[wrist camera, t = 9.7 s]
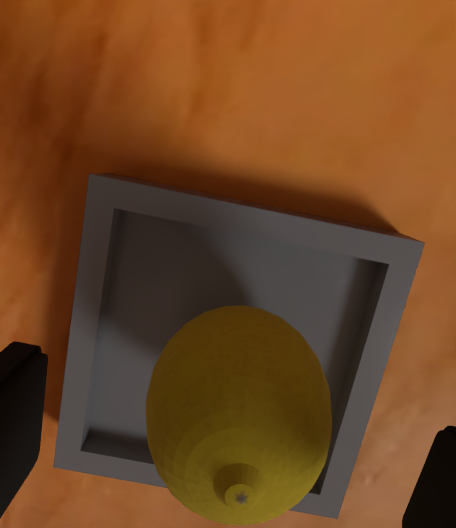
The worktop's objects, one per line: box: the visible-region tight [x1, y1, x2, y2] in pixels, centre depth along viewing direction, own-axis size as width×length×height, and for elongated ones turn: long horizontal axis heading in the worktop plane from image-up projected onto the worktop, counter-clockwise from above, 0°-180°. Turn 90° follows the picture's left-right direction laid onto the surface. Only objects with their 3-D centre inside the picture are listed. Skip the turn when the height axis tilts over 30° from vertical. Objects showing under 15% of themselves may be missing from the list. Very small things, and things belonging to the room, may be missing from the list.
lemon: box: [145, 305, 332, 526], centre depth 13 cm, size 6×6×8 cm
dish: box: [53, 173, 425, 519], centre depth 17 cm, size 12×12×2 cm
